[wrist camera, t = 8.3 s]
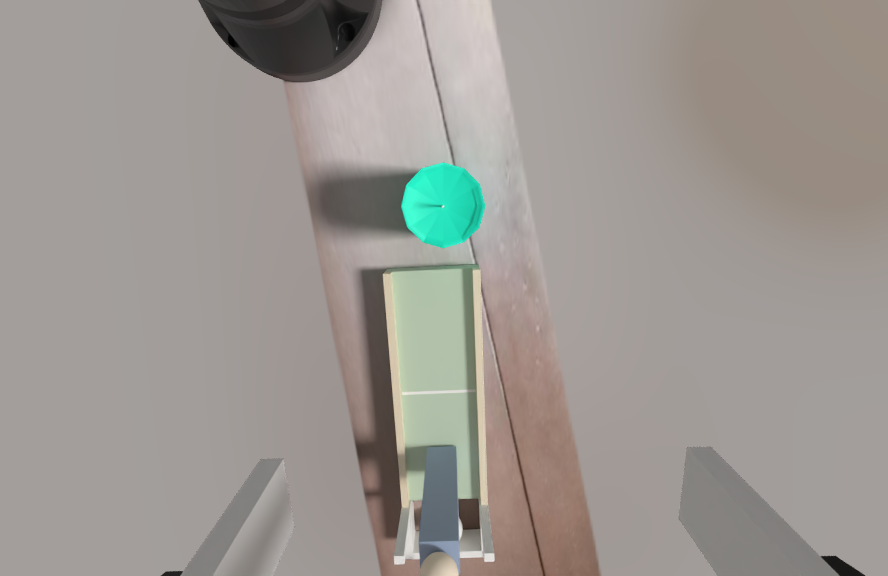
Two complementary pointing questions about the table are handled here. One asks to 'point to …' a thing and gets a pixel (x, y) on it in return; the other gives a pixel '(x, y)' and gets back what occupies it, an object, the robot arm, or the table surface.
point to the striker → (440, 514)
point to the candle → (443, 205)
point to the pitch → (437, 373)
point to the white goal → (469, 543)
